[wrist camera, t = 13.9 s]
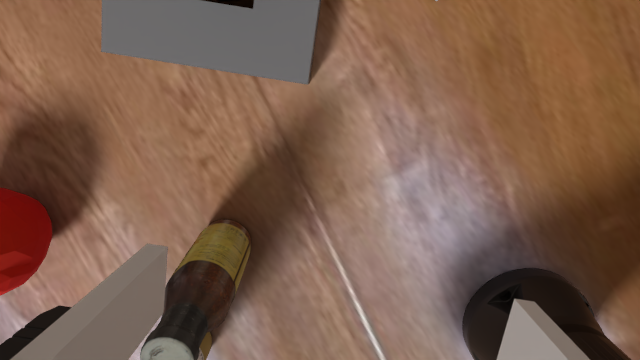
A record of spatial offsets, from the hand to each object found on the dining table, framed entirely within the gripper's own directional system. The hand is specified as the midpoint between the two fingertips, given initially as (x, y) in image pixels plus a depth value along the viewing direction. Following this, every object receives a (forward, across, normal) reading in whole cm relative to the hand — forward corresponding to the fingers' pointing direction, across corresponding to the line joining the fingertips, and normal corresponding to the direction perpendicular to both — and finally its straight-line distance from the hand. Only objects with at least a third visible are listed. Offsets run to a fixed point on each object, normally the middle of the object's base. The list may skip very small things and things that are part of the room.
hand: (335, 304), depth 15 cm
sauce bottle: (+31, +11, +12) cm, 35 cm away
